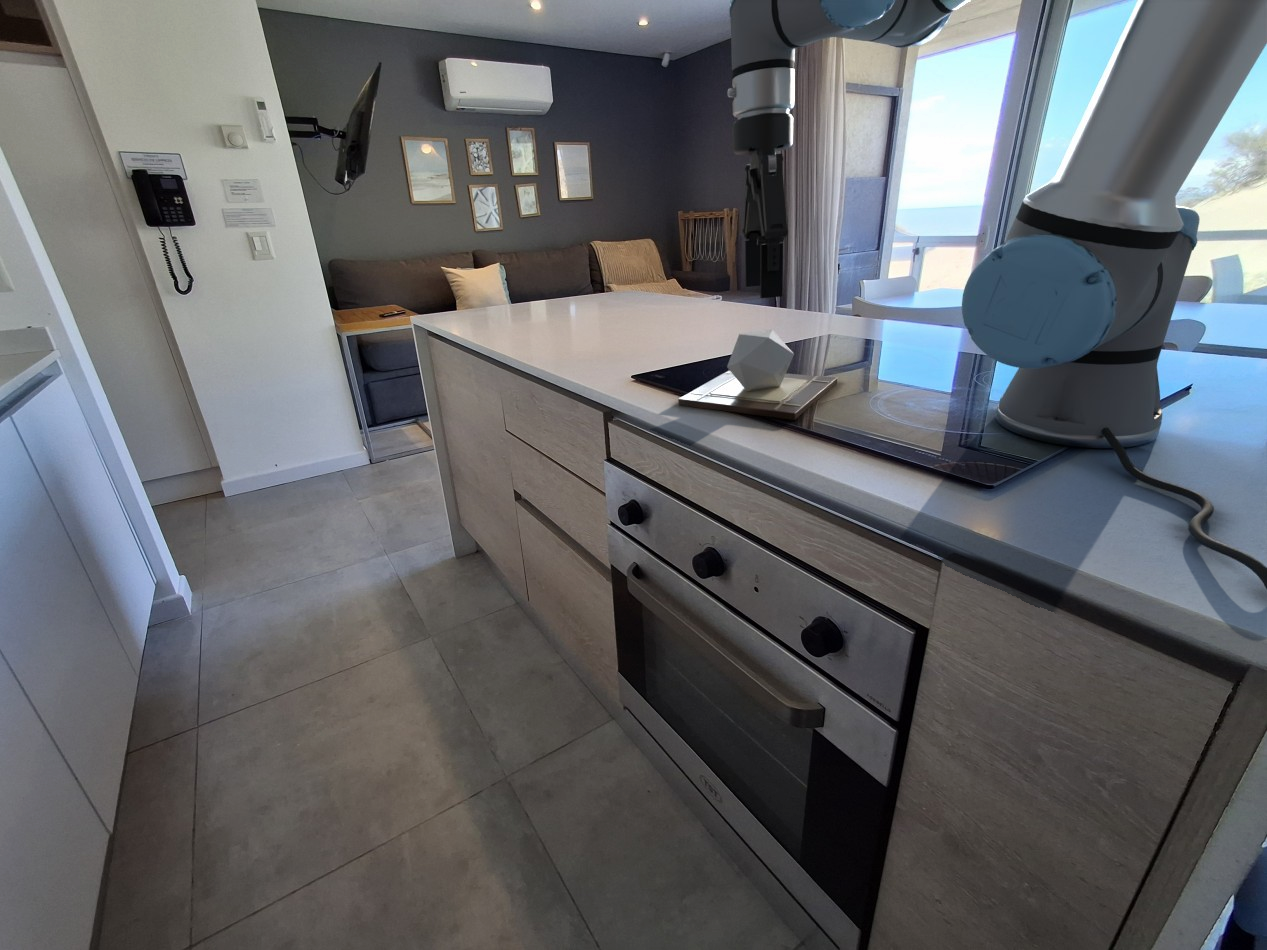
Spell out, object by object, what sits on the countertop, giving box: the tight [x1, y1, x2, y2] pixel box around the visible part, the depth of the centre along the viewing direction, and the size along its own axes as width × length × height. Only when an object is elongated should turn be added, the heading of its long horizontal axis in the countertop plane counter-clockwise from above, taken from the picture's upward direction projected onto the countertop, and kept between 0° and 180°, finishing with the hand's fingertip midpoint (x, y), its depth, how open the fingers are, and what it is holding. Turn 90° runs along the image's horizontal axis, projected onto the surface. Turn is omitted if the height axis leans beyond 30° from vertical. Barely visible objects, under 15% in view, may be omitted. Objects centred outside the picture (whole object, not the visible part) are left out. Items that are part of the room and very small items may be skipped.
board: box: [677, 369, 838, 421], centre depth 87 cm, size 18×18×1 cm
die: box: [726, 329, 795, 391], centre depth 85 cm, size 8×9×10 cm
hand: (762, 291), depth 80 cm, fingers open, 13 cm apart
